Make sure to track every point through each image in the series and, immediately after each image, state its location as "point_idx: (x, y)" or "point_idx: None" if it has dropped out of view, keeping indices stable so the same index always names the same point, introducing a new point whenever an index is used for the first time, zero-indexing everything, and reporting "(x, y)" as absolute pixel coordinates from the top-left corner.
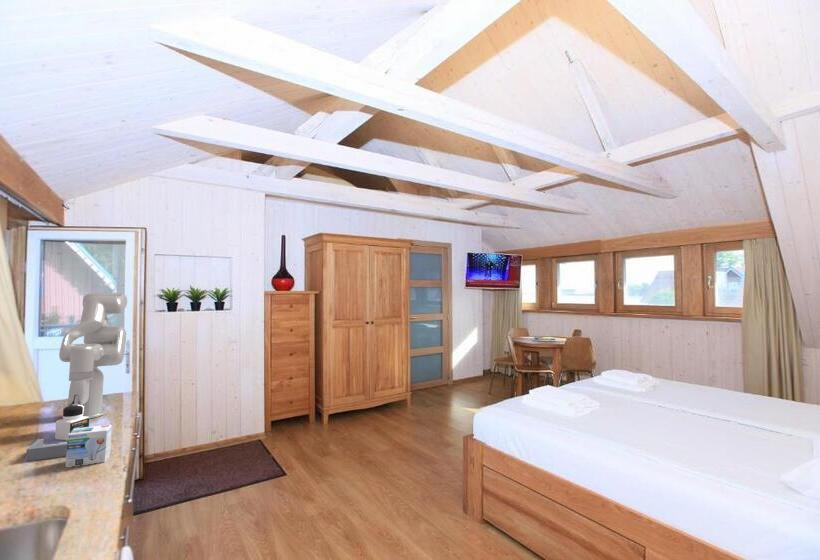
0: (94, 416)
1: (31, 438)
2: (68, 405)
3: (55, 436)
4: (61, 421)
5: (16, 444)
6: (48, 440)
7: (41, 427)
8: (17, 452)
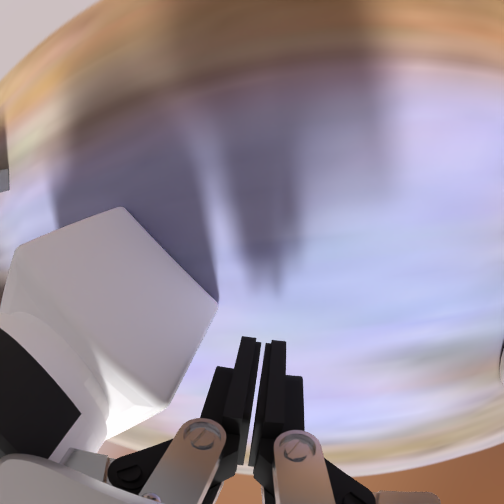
0: (502, 368)
1: (229, 40)
2: (6, 455)
3: (107, 211)
4: (4, 291)
5: (136, 10)
6: (118, 168)
7: (498, 85)
8: (20, 91)
